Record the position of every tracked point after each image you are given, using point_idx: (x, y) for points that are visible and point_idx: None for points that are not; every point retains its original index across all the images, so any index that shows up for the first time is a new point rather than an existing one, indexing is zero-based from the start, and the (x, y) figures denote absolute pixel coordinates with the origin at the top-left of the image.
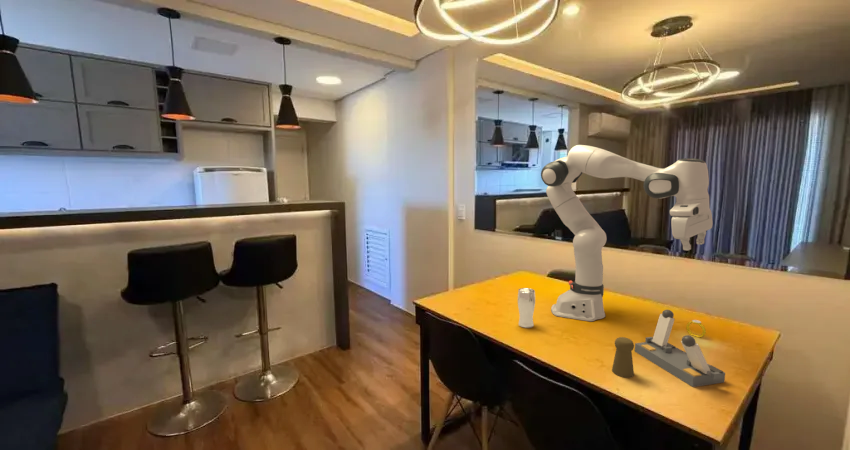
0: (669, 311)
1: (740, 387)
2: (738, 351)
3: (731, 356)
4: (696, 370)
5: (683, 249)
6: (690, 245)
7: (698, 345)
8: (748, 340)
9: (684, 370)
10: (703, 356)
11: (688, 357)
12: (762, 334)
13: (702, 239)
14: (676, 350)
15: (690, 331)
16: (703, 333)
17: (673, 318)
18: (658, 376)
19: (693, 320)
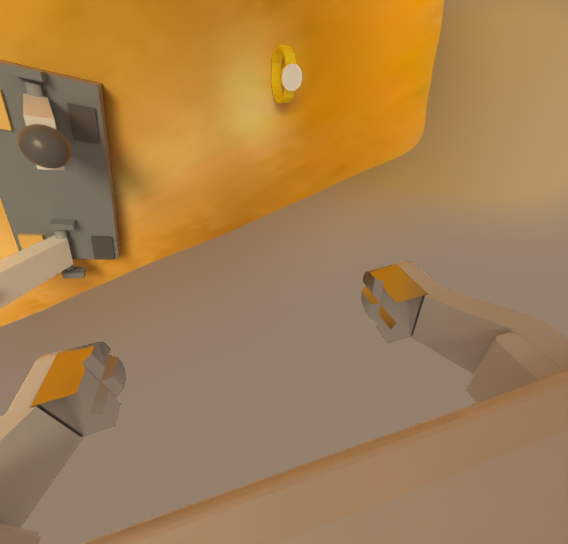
0: (39, 161)
1: (135, 263)
2: (274, 176)
3: (238, 186)
4: None
5: (43, 357)
6: (102, 422)
7: (1, 307)
8: (345, 151)
9: (18, 237)
10: (36, 286)
11: (26, 248)
12: (395, 144)
13: (398, 339)
14: (89, 155)
15: (280, 56)
16: (277, 102)
17: (59, 168)
18: None
19: (290, 67)
